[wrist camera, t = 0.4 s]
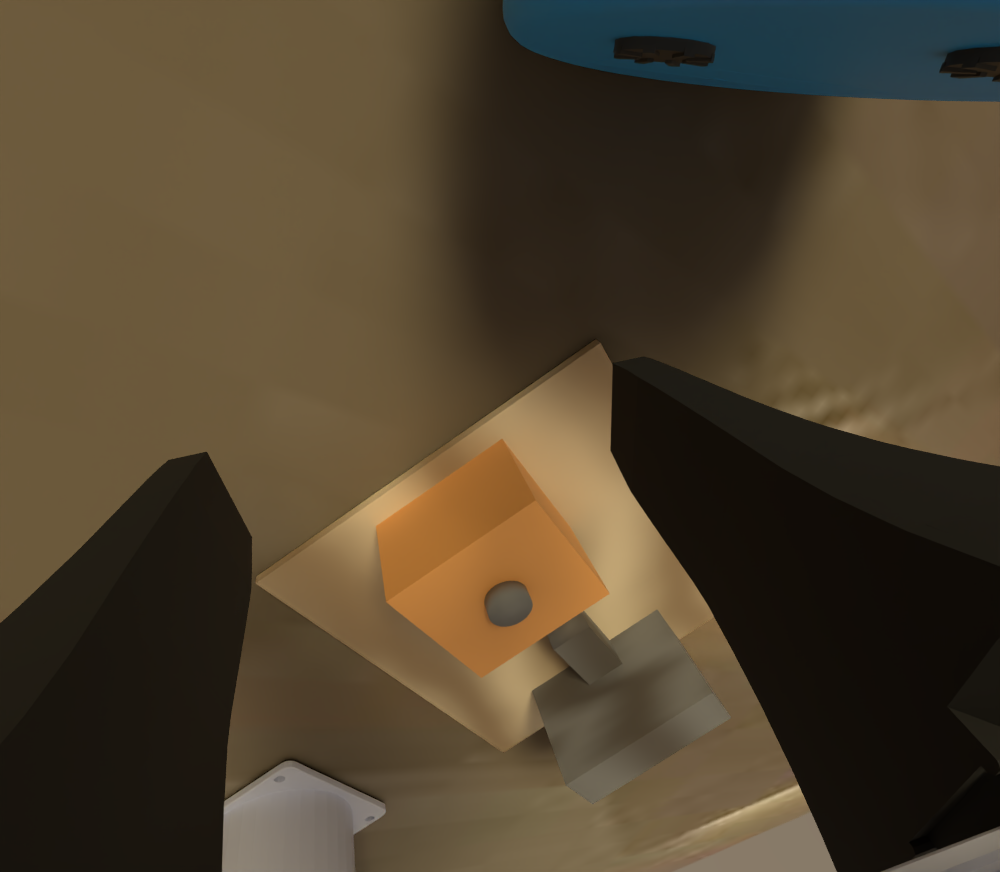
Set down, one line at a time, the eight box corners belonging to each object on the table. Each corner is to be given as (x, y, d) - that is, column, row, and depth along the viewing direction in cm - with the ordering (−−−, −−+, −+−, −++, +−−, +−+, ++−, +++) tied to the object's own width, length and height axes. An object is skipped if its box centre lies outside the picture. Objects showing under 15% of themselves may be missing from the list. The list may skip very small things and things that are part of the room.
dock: (501, 746, 32) (530, 848, 28) (256, 576, 22) (240, 697, 17) (735, 595, 31) (804, 677, 27) (596, 338, 21) (672, 403, 16)
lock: (460, 602, 25) (485, 691, 21) (375, 526, 22) (387, 615, 18) (570, 527, 25) (616, 605, 21) (502, 438, 21) (542, 511, 17)
